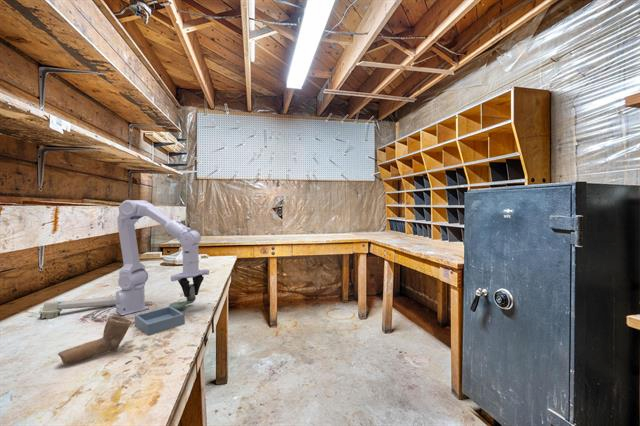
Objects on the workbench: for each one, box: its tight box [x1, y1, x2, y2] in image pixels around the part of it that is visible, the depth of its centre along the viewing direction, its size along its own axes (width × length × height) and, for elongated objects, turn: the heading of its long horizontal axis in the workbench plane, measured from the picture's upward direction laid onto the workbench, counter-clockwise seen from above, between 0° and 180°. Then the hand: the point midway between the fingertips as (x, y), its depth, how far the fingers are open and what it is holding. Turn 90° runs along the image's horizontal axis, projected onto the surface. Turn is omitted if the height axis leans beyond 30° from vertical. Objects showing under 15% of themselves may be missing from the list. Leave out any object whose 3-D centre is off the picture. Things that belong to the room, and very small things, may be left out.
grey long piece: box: [38, 294, 116, 320], centre depth 117 cm, size 5×7×25 cm
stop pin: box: [186, 283, 197, 302], centre depth 116 cm, size 3×3×6 cm
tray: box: [134, 305, 186, 336], centre depth 104 cm, size 12×12×4 cm
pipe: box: [57, 315, 132, 365], centre depth 83 cm, size 6×17×10 cm, turn 133°
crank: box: [168, 299, 195, 310], centre depth 119 cm, size 10×6×5 cm, turn 152°
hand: (191, 295), depth 116 cm, fingers closed on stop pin, 3 cm apart
